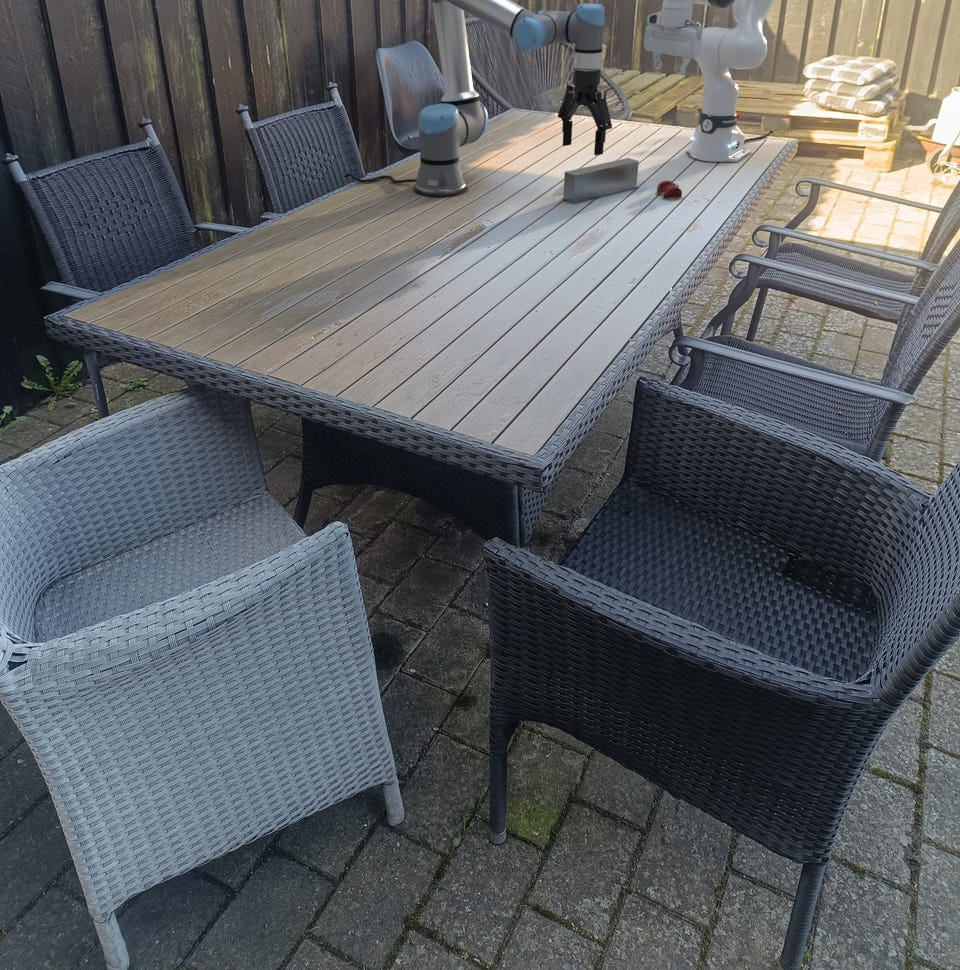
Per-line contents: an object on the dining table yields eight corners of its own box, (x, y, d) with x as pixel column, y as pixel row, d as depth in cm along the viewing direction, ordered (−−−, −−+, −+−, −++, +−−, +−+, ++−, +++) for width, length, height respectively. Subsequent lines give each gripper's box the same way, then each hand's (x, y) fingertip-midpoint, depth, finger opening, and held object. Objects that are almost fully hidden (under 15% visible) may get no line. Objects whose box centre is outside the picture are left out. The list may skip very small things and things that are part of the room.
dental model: (673, 176, 254) (684, 184, 248) (671, 190, 257) (683, 198, 251) (655, 178, 253) (666, 186, 247) (654, 192, 256) (665, 200, 250)
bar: (573, 203, 248) (575, 175, 243) (563, 199, 251) (564, 171, 246) (636, 187, 260) (639, 161, 256) (625, 184, 263) (628, 157, 259)
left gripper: (629, 73, 224) (622, 156, 237) (567, 61, 241) (563, 139, 253) (608, 76, 221) (602, 160, 233) (547, 64, 237) (544, 143, 249)
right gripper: (710, 21, 240) (703, 75, 248) (658, 14, 253) (652, 65, 261) (695, 23, 236) (688, 77, 245) (643, 15, 250) (638, 67, 258)
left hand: (582, 149), depth 243 cm, fingers open, 13 cm apart
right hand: (669, 71), depth 253 cm, fingers open, 8 cm apart
